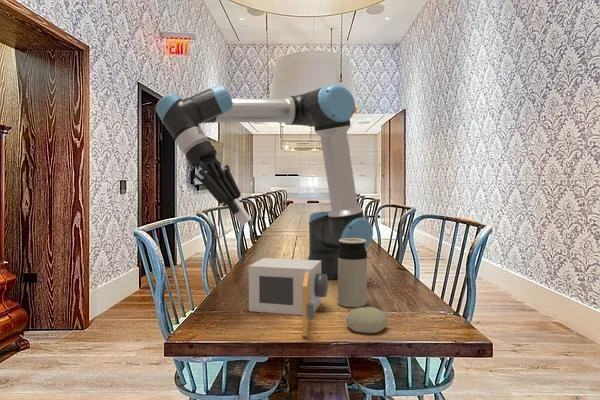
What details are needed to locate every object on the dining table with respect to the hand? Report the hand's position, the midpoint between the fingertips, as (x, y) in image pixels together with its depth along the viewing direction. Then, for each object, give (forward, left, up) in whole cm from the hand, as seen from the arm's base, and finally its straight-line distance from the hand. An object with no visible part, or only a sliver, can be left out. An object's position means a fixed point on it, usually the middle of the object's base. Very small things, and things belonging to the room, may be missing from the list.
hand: (246, 222), depth 112 cm
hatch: (-12, +15, -23) cm, 30 cm away
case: (-12, -1, -24) cm, 27 cm away
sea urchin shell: (-24, +20, -24) cm, 40 cm away
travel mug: (-29, +1, -24) cm, 38 cm away
